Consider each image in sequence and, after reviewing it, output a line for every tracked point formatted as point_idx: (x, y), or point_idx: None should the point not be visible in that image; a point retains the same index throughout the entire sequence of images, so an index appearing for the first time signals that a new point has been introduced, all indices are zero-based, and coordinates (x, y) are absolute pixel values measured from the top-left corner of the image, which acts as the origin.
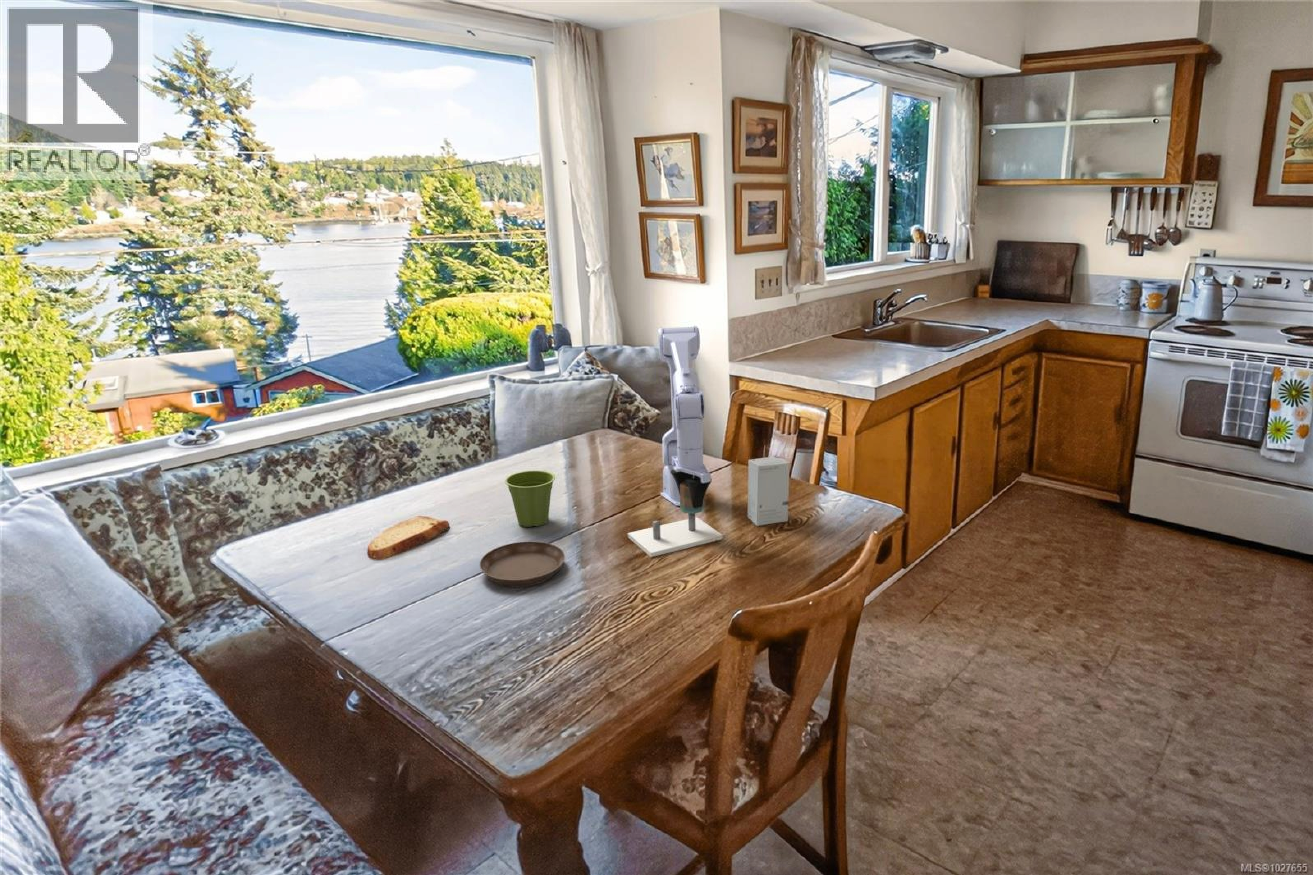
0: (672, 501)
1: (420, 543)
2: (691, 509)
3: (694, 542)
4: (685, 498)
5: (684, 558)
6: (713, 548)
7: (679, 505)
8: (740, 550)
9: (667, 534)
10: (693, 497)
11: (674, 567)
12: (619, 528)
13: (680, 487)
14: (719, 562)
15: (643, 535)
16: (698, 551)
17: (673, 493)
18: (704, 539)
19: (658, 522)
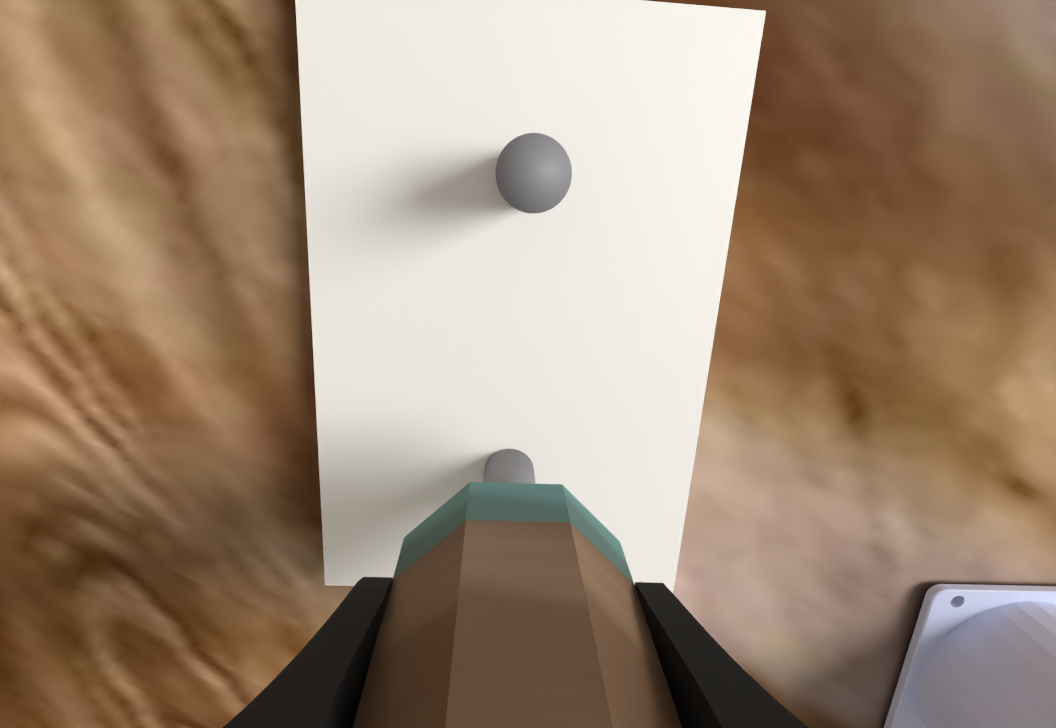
0: (1001, 594)
1: None
2: (411, 552)
3: (317, 383)
4: (448, 597)
5: (171, 210)
6: (234, 456)
7: (925, 601)
8: (132, 570)
9: (542, 286)
10: (277, 676)
11: (51, 56)
12: (937, 52)
13: (583, 694)
14: (12, 380)
15: (639, 108)
16: (236, 353)
17: (1053, 645)
18: (319, 460)
19: (510, 187)
